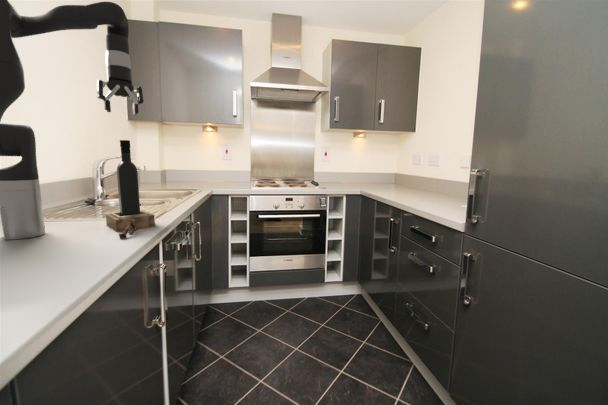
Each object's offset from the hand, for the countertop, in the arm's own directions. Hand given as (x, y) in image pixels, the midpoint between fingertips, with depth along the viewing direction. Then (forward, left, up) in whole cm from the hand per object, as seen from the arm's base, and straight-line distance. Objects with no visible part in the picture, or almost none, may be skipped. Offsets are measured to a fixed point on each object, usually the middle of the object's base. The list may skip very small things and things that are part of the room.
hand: (122, 113), depth 107 cm
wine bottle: (-3, -11, -40) cm, 42 cm away
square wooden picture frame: (-3, -11, -40) cm, 42 cm away
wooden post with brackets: (-8, -24, -40) cm, 48 cm away
